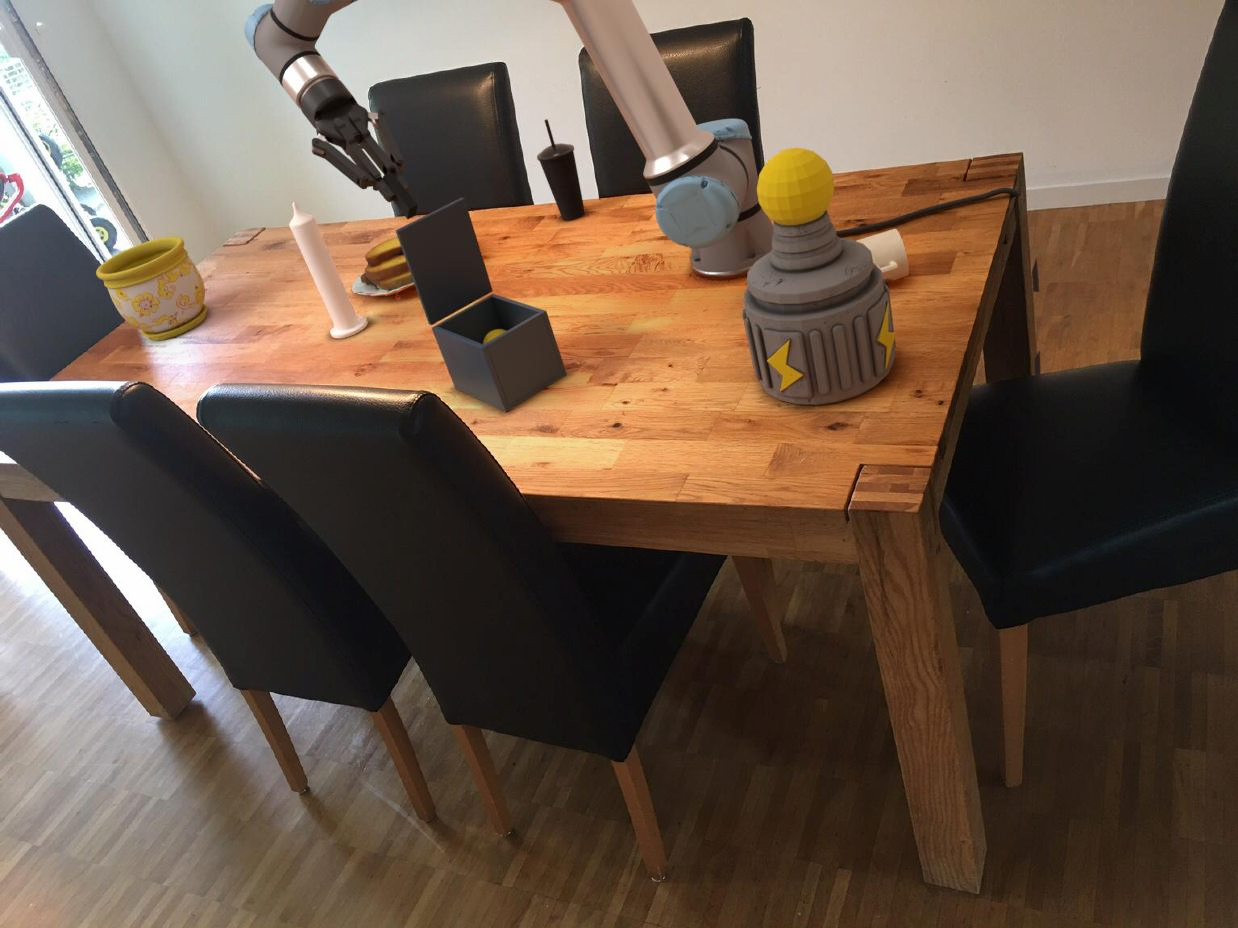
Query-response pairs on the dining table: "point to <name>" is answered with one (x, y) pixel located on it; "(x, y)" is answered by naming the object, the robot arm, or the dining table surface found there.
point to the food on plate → (384, 271)
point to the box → (500, 351)
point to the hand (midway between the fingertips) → (412, 212)
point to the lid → (445, 260)
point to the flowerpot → (156, 287)
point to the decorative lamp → (814, 294)
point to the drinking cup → (562, 177)
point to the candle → (325, 275)
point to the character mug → (888, 254)
